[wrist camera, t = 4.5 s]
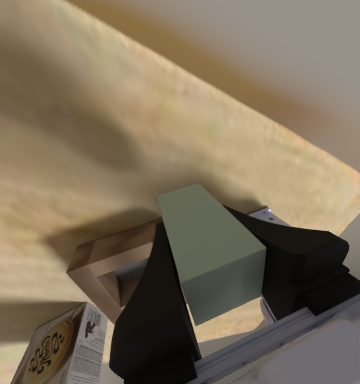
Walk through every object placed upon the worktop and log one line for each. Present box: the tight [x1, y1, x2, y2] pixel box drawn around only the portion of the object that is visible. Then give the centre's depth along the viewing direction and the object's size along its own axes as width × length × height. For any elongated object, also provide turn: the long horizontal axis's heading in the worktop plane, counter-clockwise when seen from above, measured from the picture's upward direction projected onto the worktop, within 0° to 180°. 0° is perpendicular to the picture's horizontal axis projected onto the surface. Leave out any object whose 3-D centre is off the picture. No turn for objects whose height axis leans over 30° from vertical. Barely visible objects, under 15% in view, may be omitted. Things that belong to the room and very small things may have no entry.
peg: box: [156, 183, 266, 326], centre depth 11 cm, size 4×4×8 cm
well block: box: [66, 218, 188, 325], centre depth 23 cm, size 12×16×4 cm
